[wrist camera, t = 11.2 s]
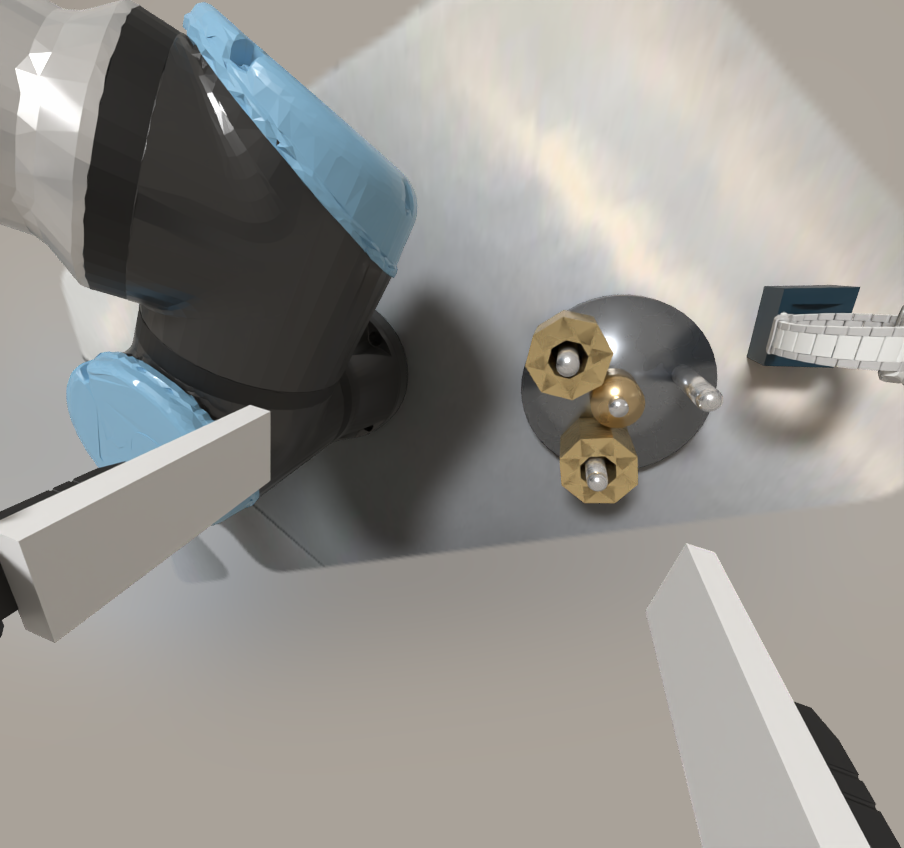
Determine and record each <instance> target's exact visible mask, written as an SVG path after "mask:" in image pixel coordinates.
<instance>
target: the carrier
mask: <svg viewBox="0 0 904 848" xmlns="http://www.w3.org/2000/svg"><path fill="white" fill-rule="evenodd" d="M567 311H571V312H576V313H580V314H585V315H589V316H594V318H595V320H596V322H597V324H598V326H599V327H600V329H601V331H602V333H603V334H604V336H605V338H606V340H607V342H608V343H609V345H610V347H611V349H612V351H613V353H614V354H613V356H612V359H611V362H610V365H609V368H608V370H607V373H606V376H605V379H604V382H603V384H602V385H601V386H599V387H597V388H595V389H593V390H591V391H589V392H587V393H585V394H583V395H582V396H580V397H578V398H576V399H574V400H570V399H566V398H562V397H558V396H554V395H550V394H546V393H542V392H541V391H540V390H539V388H538V386H537V385H536V383H535V381H534V380H533V378H532V376H531V375H530V373H529V371H528V370H527V368H526V367H524V371H523V376H522V385H521V394H522V403H523V407H524V411H525V414H526V417H527V419H528V422H529V424H530V425H531V427H532V429H533V431H534V432H535V434H536V435H537V436H538V438H539V439H540V440H541V441H542V442H543V443H544V444H545V445H546V446H547V447H548V448H549V449H550V450H552V451H553V452H554V453H555V454H557V455H559V456H560V439H561V435H562V434H563V433H564V432H565V431H566V430H567V429H568V428H569V427H570V426H571V425H572V424H573V423H574V422H575V421H576V420H577V419H578V418H586V417H595V419H596V420H597V421H598V422H599V423H601V424H602V425H604V426H607V427H610V428H623V429H624V430H626V431H627V432H628V433H629V435H630V437H631V440H632V443H633V446H634V448H635V451H636V454H637V457H638V468H640V467H644V466H647V465H650V464H653V463H655V462H657V461H659V460H662V459H664V458H666V457H667V456H669V455H671V454H672V453H674V452H676V451H677V450H678V449H679V448H681V447H682V446H683V445H685V444H686V443H687V442H688V441H689V440H690V439H691V438H692V437H693V436H694V435H695V434H696V432H697V431H698V430H699V428H700V427H701V426H702V424H703V423H704V421H705V419H706V418H707V416H708V414H709V412H711V411H715V410H717V409H718V408H720V407H721V405H722V403H723V396H722V394H721V393H720V392H719V391H718V390H717V389H716V386H717V367H716V362H715V358H714V354H713V351H712V349H711V346H710V344H709V342H708V340H707V339H706V337H705V335H704V334H703V332H702V331H701V330H700V329H699V327H698V326H697V325H696V324H695V323H694V322H693V321H692V320H691V319H690V318H688V317H687V316H686V315H685V314H684V313H682V312H680V311H679V310H677V309H676V308H674V307H672V306H670V305H668V304H665V303H663V302H661V301H658V300H655V299H652V298H648V297H644V296H637V295H609V296H603V297H599V298H595V299H591V300H588V301H586V302H583V303H581V304H578V305H576V306H575V307H573V308H571V309H569V310H567ZM584 350H585V349H584V348H583V346H582V344H580V343H576V342H572V341H567V340H565V341H563V342H562V343H560V344H558V345H556V346H555V347H553V348H552V349H551V352H552V354H553V356H554V358H555V359H556V361H557V364H556V368H557V371H558V373H559V374H560V375H562V376H565V377H570V376H573V375H575V374H576V373H577V372H578V370H579V366H580V365H579V359H581V358H582V356H583V353H584ZM525 365H526V364H525ZM604 457H605V456H598V457H589V458H588V459H587V460H586V461H585V470H586V482H587V485H588V487H589V488H590V489H591V490H593V491H602V490H604V489H605V488H606V487H607V485H608V477H607V472H606V466H605V461H604Z"/></svg>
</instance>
